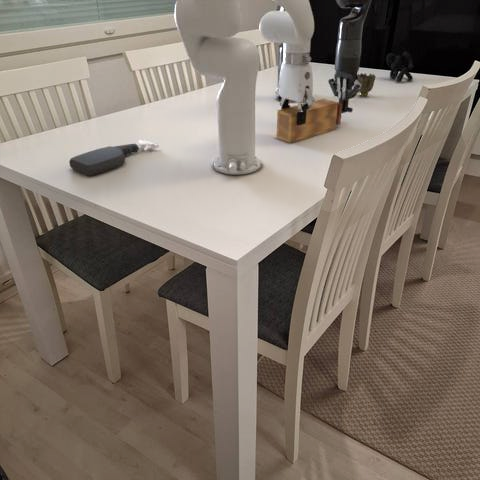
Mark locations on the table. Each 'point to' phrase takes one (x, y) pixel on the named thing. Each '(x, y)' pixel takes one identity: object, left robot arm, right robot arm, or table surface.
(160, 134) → the table surface
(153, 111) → the table surface
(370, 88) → the cup
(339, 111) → the drawer
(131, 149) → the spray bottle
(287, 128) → the cabinet
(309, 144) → the table surface
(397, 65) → the squiggle
